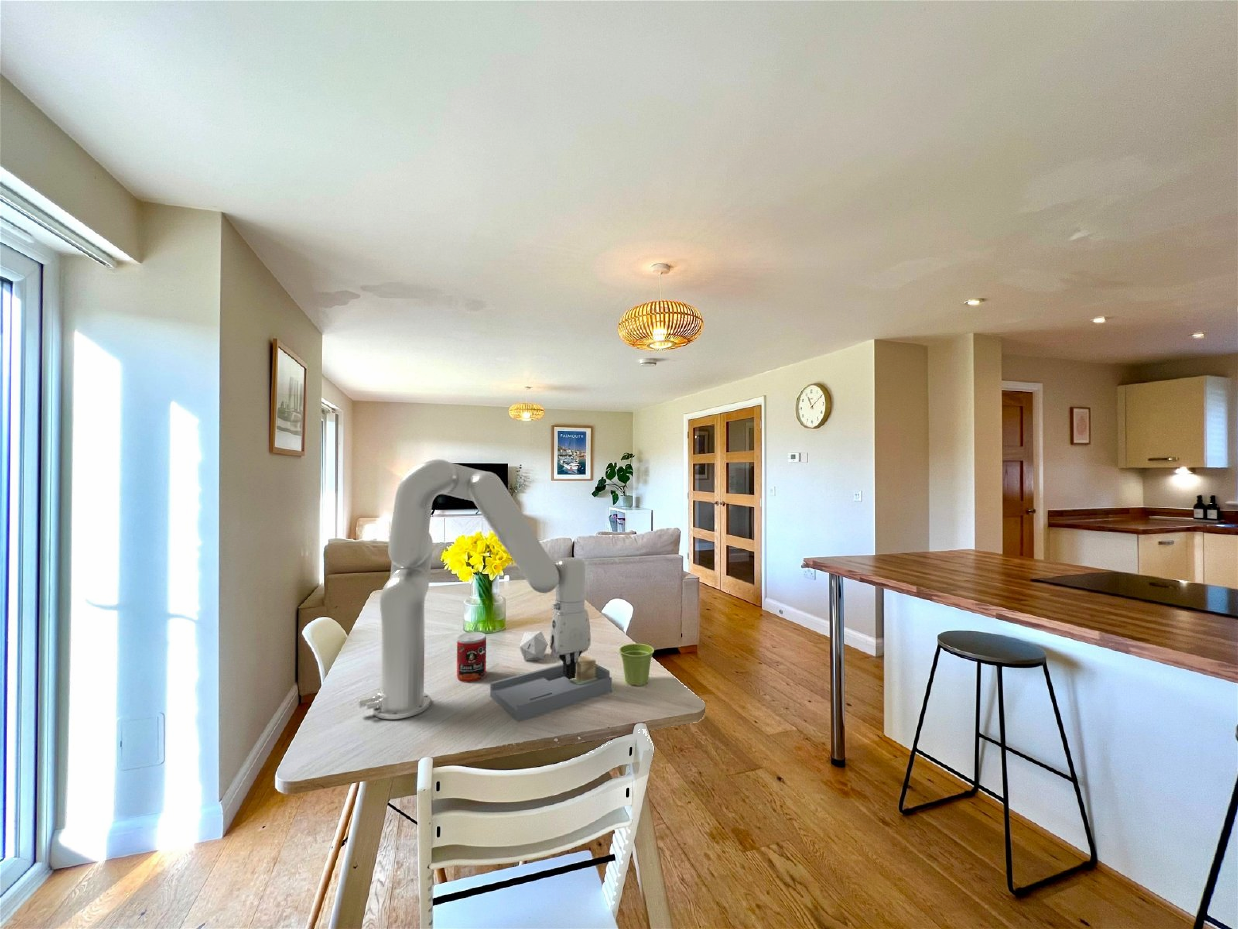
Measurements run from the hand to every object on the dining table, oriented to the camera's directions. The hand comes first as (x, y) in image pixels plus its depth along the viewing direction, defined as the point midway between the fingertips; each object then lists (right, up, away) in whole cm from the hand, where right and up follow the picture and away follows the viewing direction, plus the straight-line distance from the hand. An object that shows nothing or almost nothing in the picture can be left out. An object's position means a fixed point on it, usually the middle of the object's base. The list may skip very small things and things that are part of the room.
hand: (569, 677), depth 130 cm
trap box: (-4, -3, -3) cm, 6 cm away
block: (+4, -1, +3) cm, 5 cm away
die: (-13, -4, +21) cm, 25 cm away
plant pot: (+18, -4, +5) cm, 19 cm away
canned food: (-28, -3, +8) cm, 29 cm away
